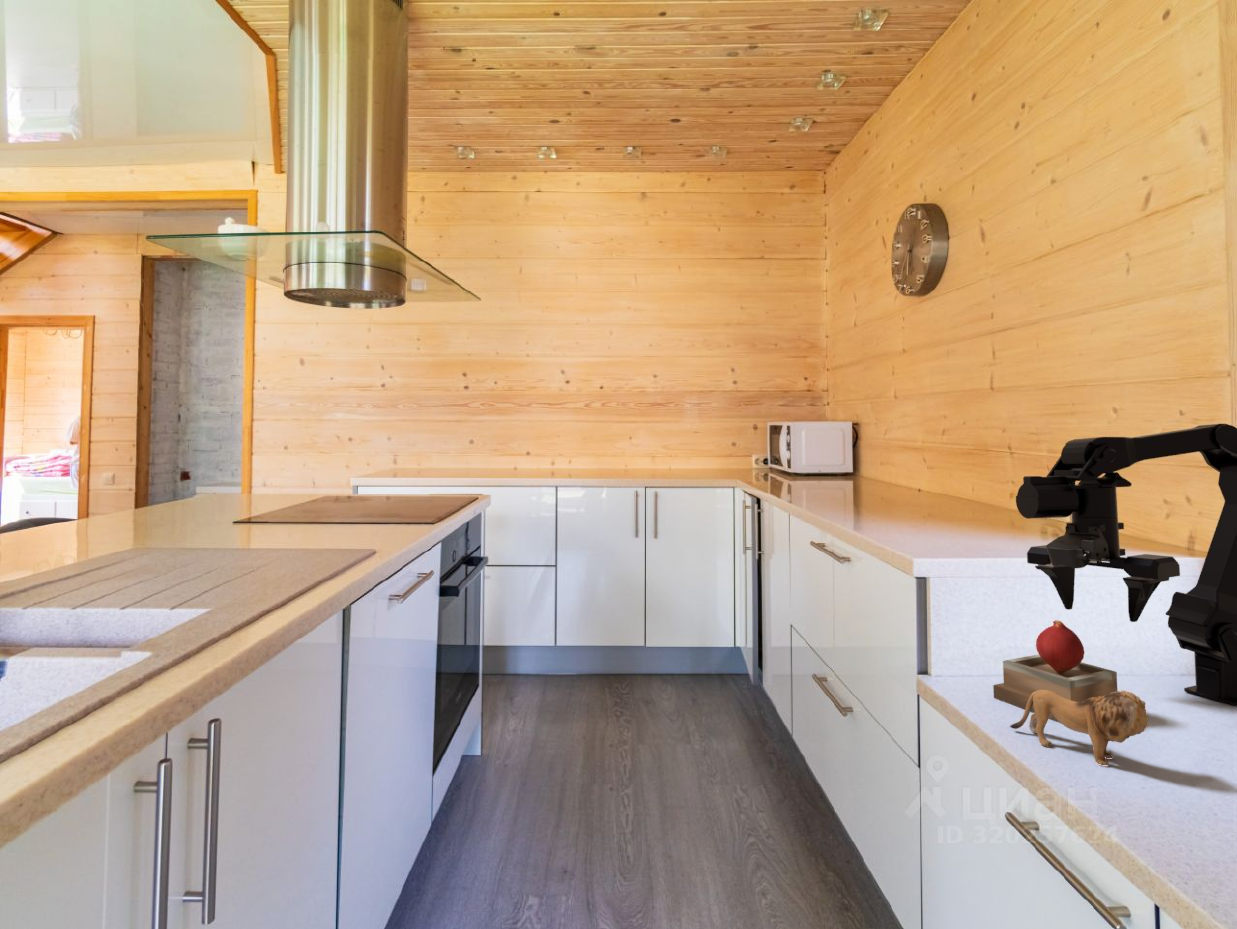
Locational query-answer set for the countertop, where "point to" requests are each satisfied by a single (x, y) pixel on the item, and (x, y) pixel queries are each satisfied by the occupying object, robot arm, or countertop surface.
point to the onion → (1060, 647)
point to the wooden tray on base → (1052, 681)
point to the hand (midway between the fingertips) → (1099, 615)
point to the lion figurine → (1089, 718)
